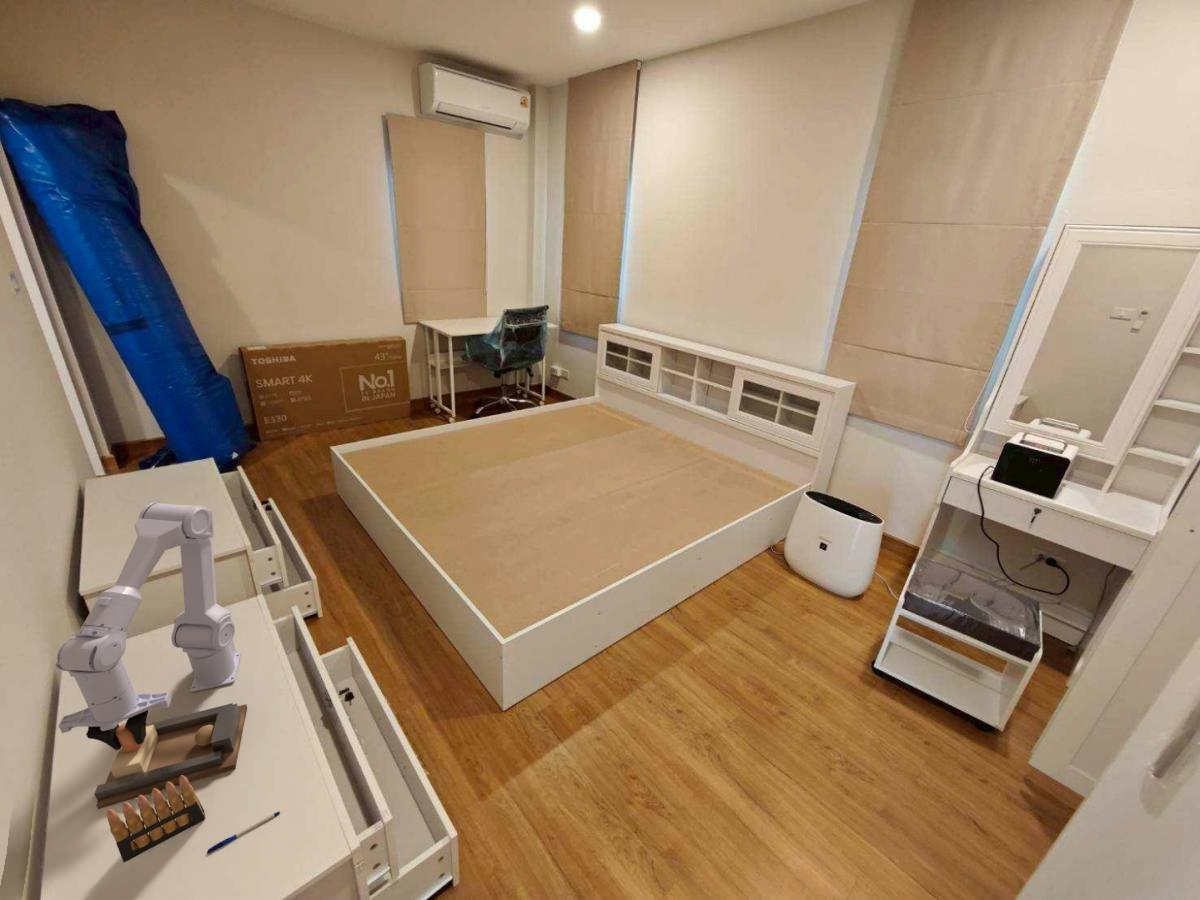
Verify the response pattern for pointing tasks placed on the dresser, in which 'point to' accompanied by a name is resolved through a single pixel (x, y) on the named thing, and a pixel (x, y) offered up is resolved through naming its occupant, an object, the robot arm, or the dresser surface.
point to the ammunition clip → (155, 819)
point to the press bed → (183, 753)
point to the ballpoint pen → (240, 833)
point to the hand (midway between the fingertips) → (131, 742)
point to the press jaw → (133, 752)
